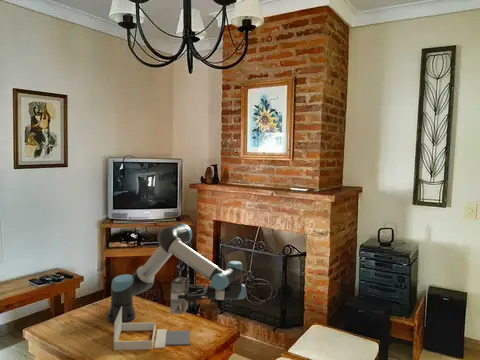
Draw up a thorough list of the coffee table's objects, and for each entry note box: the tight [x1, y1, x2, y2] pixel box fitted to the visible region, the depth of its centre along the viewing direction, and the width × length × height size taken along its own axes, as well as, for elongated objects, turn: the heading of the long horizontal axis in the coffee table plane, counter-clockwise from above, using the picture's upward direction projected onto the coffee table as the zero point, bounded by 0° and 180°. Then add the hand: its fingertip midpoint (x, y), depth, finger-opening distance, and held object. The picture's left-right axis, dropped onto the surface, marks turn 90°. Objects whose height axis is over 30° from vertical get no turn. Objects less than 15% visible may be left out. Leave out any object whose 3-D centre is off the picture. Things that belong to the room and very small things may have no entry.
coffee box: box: [170, 276, 190, 316], centre depth 189 cm, size 9×6×16 cm
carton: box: [112, 306, 168, 351], centre depth 188 cm, size 20×24×13 cm
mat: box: [165, 330, 191, 347], centre depth 191 cm, size 14×12×1 cm
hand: (171, 292), depth 189 cm, fingers closed on coffee box, 10 cm apart
